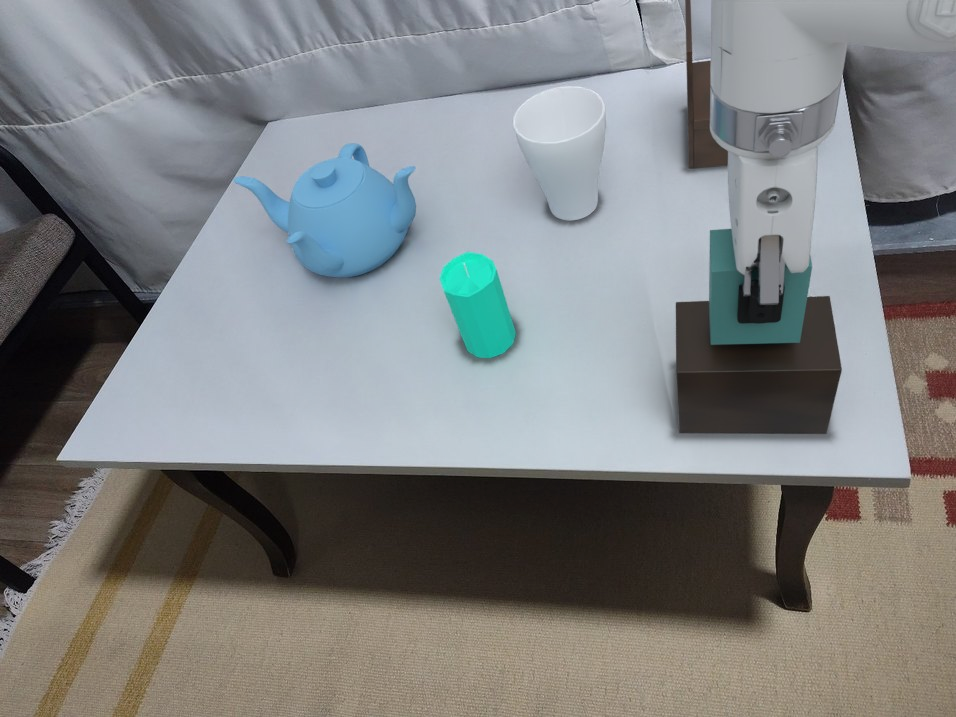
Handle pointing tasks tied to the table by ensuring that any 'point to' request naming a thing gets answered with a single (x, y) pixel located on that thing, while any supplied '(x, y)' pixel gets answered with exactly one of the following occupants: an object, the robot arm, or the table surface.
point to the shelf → (700, 109)
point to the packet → (726, 299)
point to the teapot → (342, 213)
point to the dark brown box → (756, 376)
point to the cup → (564, 146)
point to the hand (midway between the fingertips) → (756, 293)
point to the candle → (478, 304)
